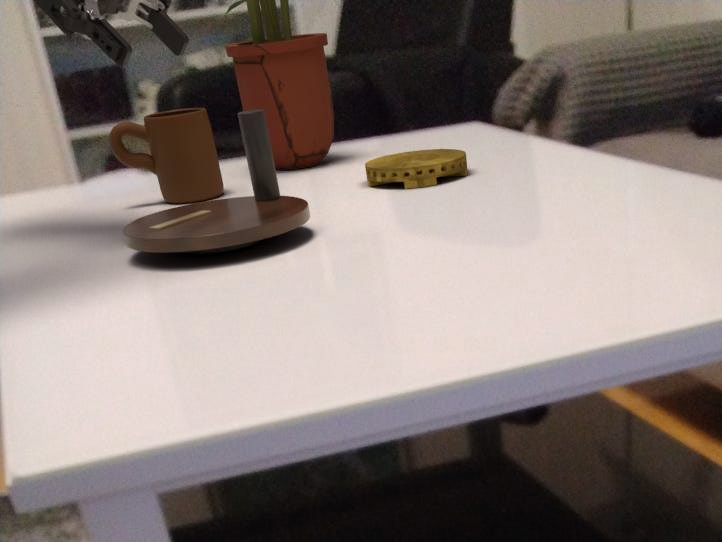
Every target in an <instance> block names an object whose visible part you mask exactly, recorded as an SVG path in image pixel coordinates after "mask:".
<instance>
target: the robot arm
mask: <svg viewBox="0 0 722 542" xmlns="http://www.w3.org/2000/svg"><path fill="white" fill-rule="evenodd" d="M33 1H34V3H35V4H36V5H37V6H38V7H39V8H40V9H41V11H43V13H44V14H45V15H46V16H47V17H48V18H49V19H50V20H51V22H53V23H54V25H56V27H57V28H58V29H59V30H60V31H61V32H62V33H63V34H64V35H65V36H67V37H74V36H75V34H80V36H81V37H82V38H84V39H86V40H89V41H92V42H93V43H94V44H95V45H96V46H97V47H98V48H99V49H100V50H101V51H102V52H103V53H104V54H105V55H106V56H107V57H108V58H109V59H111V60H112V61H113V62H114V63H115V64H116V65H117V66H118V67H125V66H127V65H128V64H129V61H130V59H131V56H132V55H133V48H132V47H133V46H132V45H131V44H130V42H129V41H127V40H126V39H125V38H124V37H123V35H121V34H120V33H119V32H118V31H117V30H116V28H115V27H114V26H113V25H112V24H111V23H110V22H109V21H108V20H107V19H106V18H101V17H102V16H104V15H107V14H109V15H116V16H118V17H120V18H122V19H124V20H125V21H128V22H133V21H137V22H139V23H140V24H142V25H144V26H146V27H148V28H149V29H151V32H152V33H153V34H154V35H155V36H156V37H157V38H158V39H159V40H160V41H161V42H162V43H163V44H164V45H165V46H166V47H167V48H168V49H169V50H170V51H171V53H172V54H174V55H175V56H176V57H178V56H183V55H185V52H186V51H187V48H188V45H189V43H190V39H189V36H188V34H186V33H185V31H184V30H183V29H182V28H181V27H180V26H179V25H178V24H177V23H176V21H174V20H173V19H172V18H171V16H169V14H168V11H169V9H170V7H171V5H172V3H173V0H129V2H128V4H127V5H123V4H124V1H125V0H33ZM138 6H140V7H141V9H143V10H144V11H145V12H146V13H145V12H143V11H141V10H139V9H138ZM61 8H63V10H65V14H64V15H63V14H62V12H61V10H62V9H61Z"/></svg>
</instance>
